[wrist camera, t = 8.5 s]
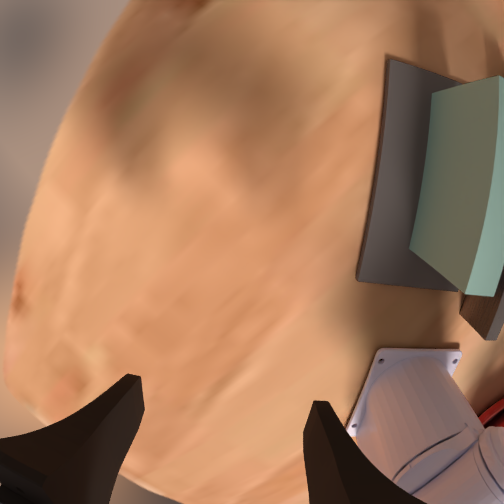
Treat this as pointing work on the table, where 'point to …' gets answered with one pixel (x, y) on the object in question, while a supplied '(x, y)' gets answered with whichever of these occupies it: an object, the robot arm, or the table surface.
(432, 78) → the mat
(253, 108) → the table surface
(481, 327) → the rack
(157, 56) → the table surface
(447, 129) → the teal board
